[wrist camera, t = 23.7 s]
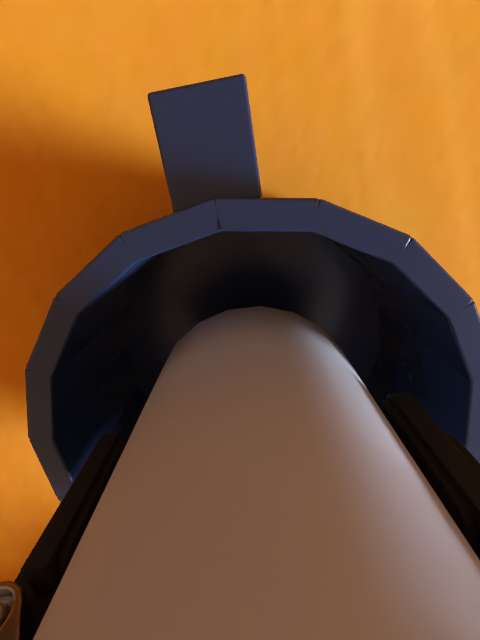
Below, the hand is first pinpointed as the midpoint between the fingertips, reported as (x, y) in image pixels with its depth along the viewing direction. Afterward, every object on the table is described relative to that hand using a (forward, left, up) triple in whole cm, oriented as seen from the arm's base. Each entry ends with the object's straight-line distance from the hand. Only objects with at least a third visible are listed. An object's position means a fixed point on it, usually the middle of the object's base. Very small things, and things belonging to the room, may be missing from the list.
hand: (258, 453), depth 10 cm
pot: (0, 0, -8) cm, 8 cm away
